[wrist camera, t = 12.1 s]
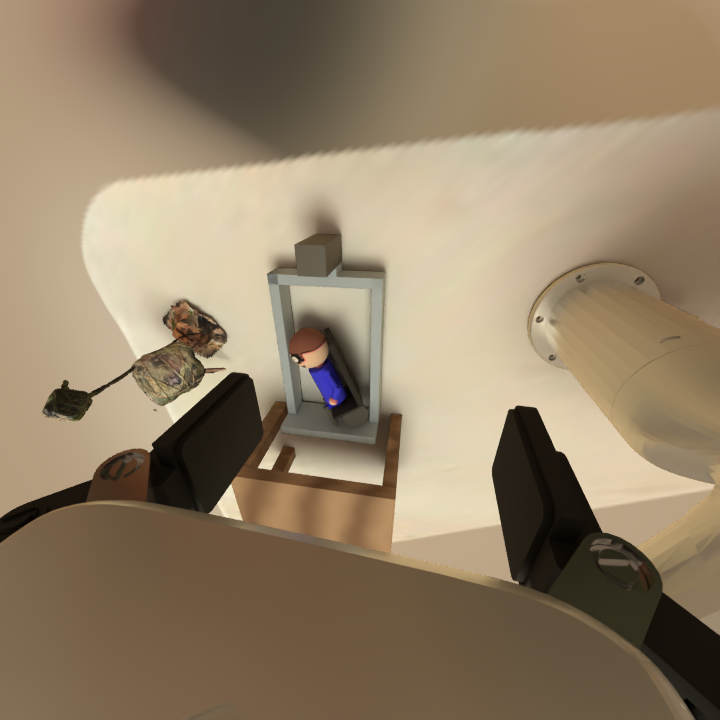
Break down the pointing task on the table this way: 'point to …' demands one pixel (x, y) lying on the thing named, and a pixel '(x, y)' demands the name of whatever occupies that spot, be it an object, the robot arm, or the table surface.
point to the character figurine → (329, 375)
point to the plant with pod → (155, 366)
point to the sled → (314, 268)
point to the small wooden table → (318, 494)
